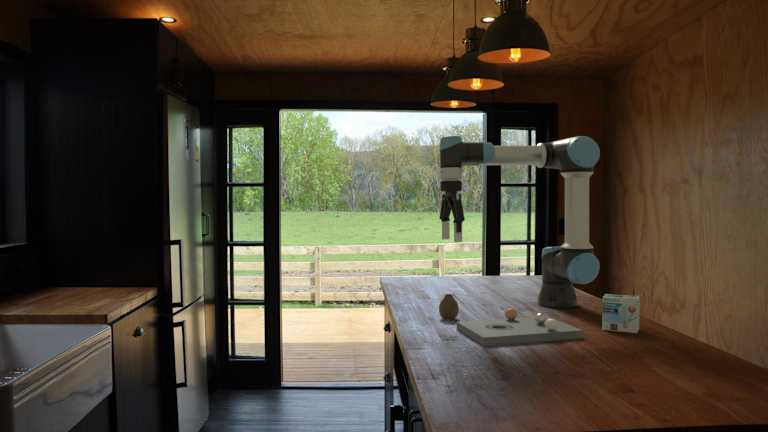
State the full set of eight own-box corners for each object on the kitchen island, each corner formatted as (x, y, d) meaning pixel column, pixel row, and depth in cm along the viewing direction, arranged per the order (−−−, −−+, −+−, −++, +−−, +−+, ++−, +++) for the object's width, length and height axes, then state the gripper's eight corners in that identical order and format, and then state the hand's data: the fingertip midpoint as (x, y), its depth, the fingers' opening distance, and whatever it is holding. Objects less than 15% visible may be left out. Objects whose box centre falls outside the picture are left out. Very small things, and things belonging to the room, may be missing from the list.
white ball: (553, 328, 174) (553, 317, 174) (559, 331, 171) (559, 319, 170) (543, 329, 173) (543, 318, 173) (549, 332, 170) (549, 320, 170)
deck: (546, 323, 193) (546, 315, 193) (582, 338, 172) (582, 330, 172) (456, 329, 186) (456, 321, 186) (483, 346, 164) (483, 337, 164)
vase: (452, 322, 197) (452, 296, 197) (435, 319, 201) (435, 295, 201) (462, 318, 203) (462, 294, 202) (445, 316, 207) (445, 292, 207)
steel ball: (542, 322, 183) (542, 311, 182) (548, 325, 179) (548, 313, 179) (532, 323, 182) (532, 312, 182) (538, 325, 178) (538, 314, 178)
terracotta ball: (513, 318, 190) (513, 306, 190) (519, 320, 186) (519, 308, 186) (502, 319, 189) (502, 307, 189) (508, 321, 185) (508, 309, 185)
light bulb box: (601, 330, 182) (601, 296, 182) (604, 326, 188) (604, 293, 188) (638, 333, 177) (638, 299, 177) (639, 329, 183) (639, 295, 183)
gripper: (430, 181, 212) (431, 238, 212) (452, 179, 187) (452, 243, 188) (450, 181, 213) (450, 238, 214) (473, 178, 189) (474, 242, 189)
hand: (451, 240), depth 201 cm, fingers open, 13 cm apart
